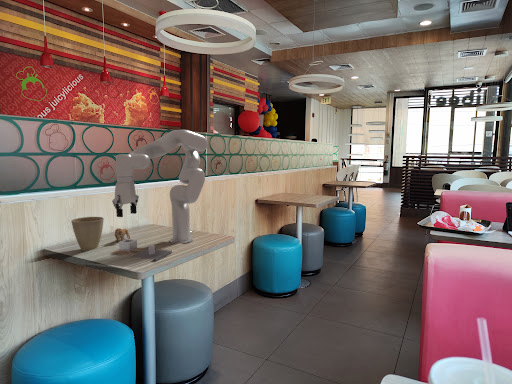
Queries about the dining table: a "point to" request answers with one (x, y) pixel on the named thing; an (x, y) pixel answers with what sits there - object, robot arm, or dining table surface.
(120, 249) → the white hollow box
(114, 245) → the dining table surface
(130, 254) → the stand
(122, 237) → the lion figurine
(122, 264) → the dining table surface
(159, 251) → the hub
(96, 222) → the plant pot
